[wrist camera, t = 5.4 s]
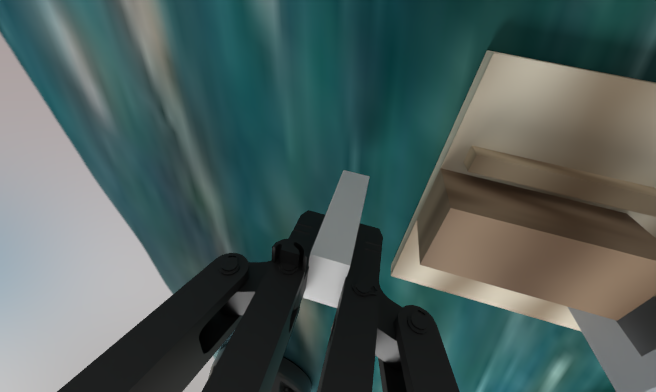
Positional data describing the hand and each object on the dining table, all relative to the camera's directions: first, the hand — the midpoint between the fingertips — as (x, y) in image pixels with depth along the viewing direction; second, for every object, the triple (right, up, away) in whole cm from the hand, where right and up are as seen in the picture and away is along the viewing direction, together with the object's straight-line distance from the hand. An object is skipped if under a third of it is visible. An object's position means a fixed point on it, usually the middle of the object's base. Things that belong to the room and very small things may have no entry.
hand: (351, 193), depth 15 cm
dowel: (+10, -1, +1) cm, 10 cm away
